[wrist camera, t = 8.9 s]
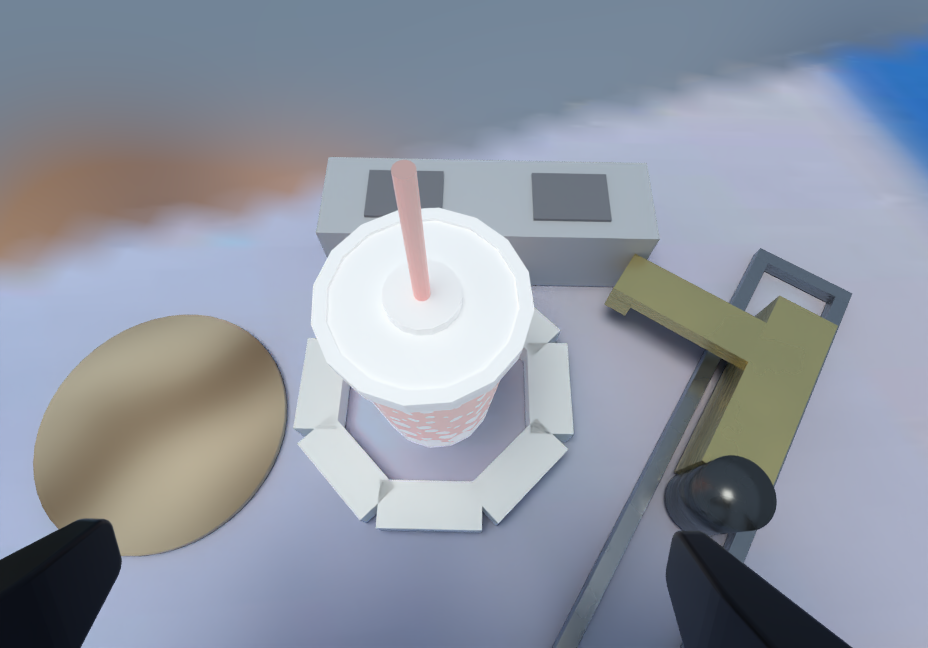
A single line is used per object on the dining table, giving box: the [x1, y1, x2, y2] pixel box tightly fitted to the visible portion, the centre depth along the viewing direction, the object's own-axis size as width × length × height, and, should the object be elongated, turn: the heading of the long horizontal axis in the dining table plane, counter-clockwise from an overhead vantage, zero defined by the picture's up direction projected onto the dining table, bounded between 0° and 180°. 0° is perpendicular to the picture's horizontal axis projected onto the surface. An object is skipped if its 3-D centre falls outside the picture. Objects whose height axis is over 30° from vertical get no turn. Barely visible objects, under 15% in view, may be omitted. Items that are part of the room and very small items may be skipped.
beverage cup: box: [311, 160, 534, 448], centre depth 16 cm, size 6×6×14 cm
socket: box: [293, 157, 660, 532], centre depth 21 cm, size 15×14×4 cm
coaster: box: [33, 315, 287, 556], centre depth 21 cm, size 10×10×1 cm
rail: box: [552, 248, 852, 648], centre depth 20 cm, size 4×23×1 cm, turn 146°
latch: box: [605, 254, 838, 535], centre depth 20 cm, size 8×10×3 cm
